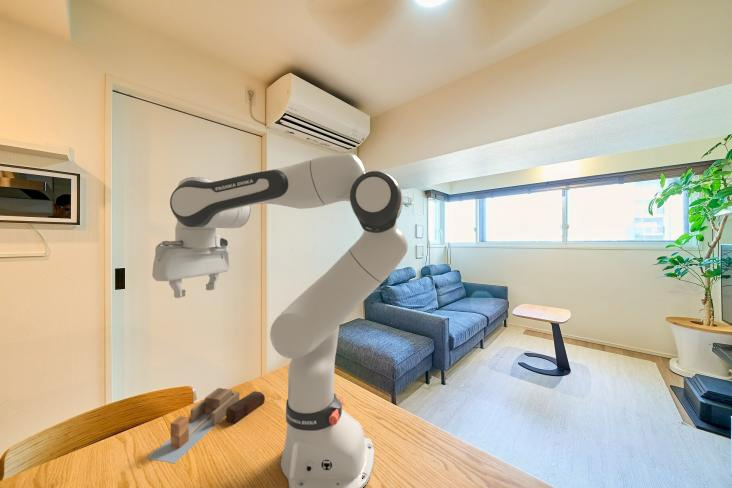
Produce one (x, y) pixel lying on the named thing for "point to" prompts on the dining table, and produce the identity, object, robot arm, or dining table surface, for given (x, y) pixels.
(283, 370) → the dining table surface
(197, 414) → the shelf lane
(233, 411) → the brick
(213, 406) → the tethered block
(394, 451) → the dining table surface
